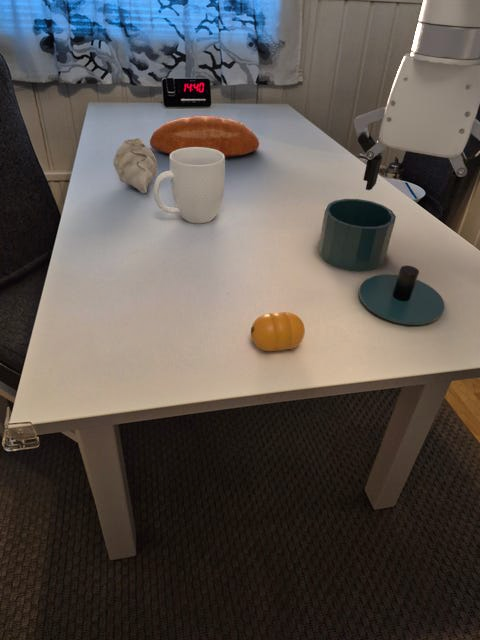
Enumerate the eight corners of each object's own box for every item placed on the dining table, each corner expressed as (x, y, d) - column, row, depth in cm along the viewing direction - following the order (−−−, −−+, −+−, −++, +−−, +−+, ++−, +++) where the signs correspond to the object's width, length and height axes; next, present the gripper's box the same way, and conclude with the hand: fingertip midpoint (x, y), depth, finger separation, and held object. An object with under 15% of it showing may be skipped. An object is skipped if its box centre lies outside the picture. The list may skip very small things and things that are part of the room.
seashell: (164, 174, 114) (161, 134, 108) (152, 198, 102) (148, 154, 96) (124, 172, 114) (119, 132, 108) (108, 195, 103) (101, 151, 96)
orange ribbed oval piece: (295, 331, 66) (300, 303, 63) (307, 354, 62) (312, 325, 59) (245, 336, 65) (247, 308, 62) (254, 361, 61) (256, 331, 58)
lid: (442, 290, 77) (454, 258, 73) (442, 336, 67) (456, 303, 63) (364, 273, 80) (371, 242, 76) (352, 315, 70) (360, 282, 66)
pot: (387, 245, 88) (398, 205, 83) (380, 277, 79) (392, 234, 74) (325, 234, 92) (332, 194, 86) (312, 262, 82) (319, 220, 77)
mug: (165, 236, 88) (160, 170, 80) (148, 213, 96) (142, 152, 88) (232, 223, 94) (234, 161, 86) (212, 203, 101) (211, 144, 93)
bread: (264, 162, 124) (266, 129, 119) (148, 162, 121) (145, 128, 115) (253, 138, 142) (255, 108, 136) (152, 137, 138) (149, 106, 133)
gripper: (536, 49, 48) (477, 199, 59) (378, 34, 54) (350, 173, 65) (538, 57, 43) (473, 220, 54) (362, 39, 49) (335, 190, 59)
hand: (406, 194), depth 59 cm, fingers open, 9 cm apart
